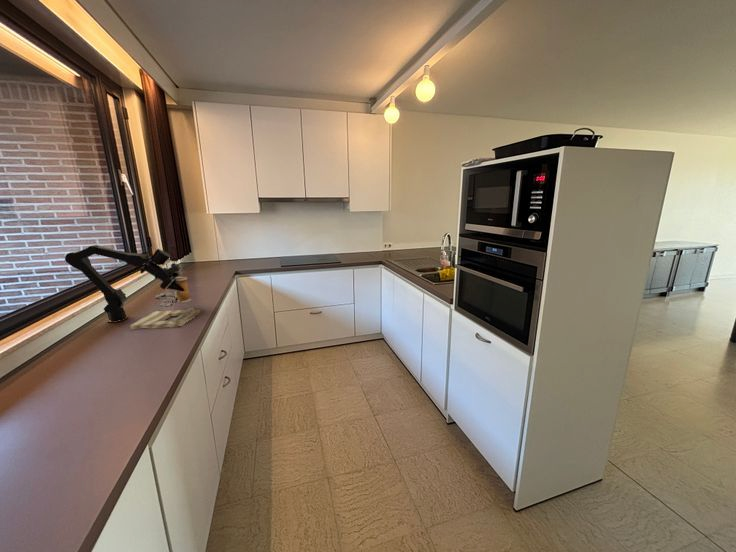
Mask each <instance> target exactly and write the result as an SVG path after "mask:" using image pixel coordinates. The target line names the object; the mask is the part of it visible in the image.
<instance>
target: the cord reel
mask: <svg viewBox="0 0 736 552" xmlns="http://www.w3.org/2000/svg"><path fill="white" fill-rule="evenodd" d="M174 279H176V283H178V284H179V285H180V286H181V287H182V288H184V289H185V290H184V291H179V290H176V291H177V296H178V300H177V303H180V304H181V303H182V304H183V303H189V302H190V301H192V297H190V296H191V295H190V290H189V286H188V285H189V283H188V277H187V276H180V277H177V278H174ZM174 279H173V280H174Z"/></svg>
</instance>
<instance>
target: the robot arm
mask: <svg viewBox="0 0 736 552" xmlns="http://www.w3.org/2000/svg"><path fill="white" fill-rule="evenodd" d="M93 255H98V256H102V257H106V258H110V259H114V260H119V261H123V262H125V263H126V264H128V265H130V266H134V267H136V268H137V267H138V268H139V267H140V268H139V270H140V274H144V273H145V272H147V273H149V275H151V276H153V277H154V279H155V280H157V279H158V280H159V281H161V283H160V285H159V286H160V288H161V289H162V290H173V291H175V290H179V291H184V290H185V289H184V288H182V287H181V286H180V285H179V284H178V283H176V279H174V278H177V277H181V275H180V273H181V272H180V270H181V267H180V264H178V263H175V262H174V263H171V264H170V267H168V268H167V267H162V266H163V265H165V264H166V263H167V261H168V260H169V259H170V258H171V255H170V253H169V252H166V251H164V250H162V249H160V248H157V249H156V250H155V251H154V253H153V254H152V255H145V254H143V253H138V252H136V253H135V252H125V251H120V250H116V249H113V248H108V247H105V246H100V245H98V244H94V245H90V246H88V247H86V248H84V249H82V250H76V251H72V252H68V253H67V254H66V255H65V257H64V260H65V262H66V264H69V265H70V266H71V267H72V268H74V269H76V270H79V271H80V272H81V273H82V274H84V276H85V277H86V278H87V279H88V280H89V281H90V282H91V283H92V284H93V285H95V286H94V287H96V288H97V289H98V290H99V291H100V292H101V293H102V295H103V296H104V299H105V301H106V303H107V304H106V306H104V308H103V311H104V312H105V313H106V314H107V317H108V321H109V320H111V321H118V320H122V321H124V320H125V318H126V317H127V314H126V310H124V307H123V306H124V305H125V303H126V301H127V296H126V295H127V294H126V293H125V292H124V291H123V290H122V288H118V289H116V288H113V287H112V285H111V284H110V283H109V282H108V281H107V280H106V279H105V278H104V277H103V276H102V275H101V274H100V273H99V272H98V271H97V270H96V268H94V266H93V265H92V263H91V260H90V258H89V257H92V256H93ZM141 266H143V267H141ZM173 279H174V280H173ZM123 319H124V320H123ZM126 319H127V318H126Z"/></svg>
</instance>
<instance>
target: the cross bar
mask: <svg viewBox="0 0 736 552" xmlns="http://www.w3.org/2000/svg"><path fill="white" fill-rule="evenodd" d="M186 310H187V311H186V312H184V313H183V314H181V315H180V316H178V317H172V319H171V320H172V323H177V322H178V321H179V320H182V319H183V318H185V317H186V315H187V314H189V313H190V312H192V311H194V310H195V309H194V307H188V308H187V309H186Z"/></svg>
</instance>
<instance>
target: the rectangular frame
mask: <svg viewBox="0 0 736 552" xmlns="http://www.w3.org/2000/svg"><path fill="white" fill-rule="evenodd" d="M187 310H188V309H185V310H183V309H182V310H163V311H162V310H161V311H160V310H159V311H152V312H151V313H150V314H147V315H146V316H143V318H140V319H139V320H137V321H135V322H133V323H132V324H130V325H129V328H130V330H141V329H140V328H149V329H160V328H159V327H170V328H175V327H174V326H182V325H183V324H185V323H186V322H187V323H189V322H190V321H191V320H193V319H195V316H196V315H197V316H198V315H200V314H201V311H200V309H194V311H192V312H190V313H189V314H187V315H186V316H184V317H183V318H182V319H180V320H179V321H178V322H177V323H172V319H170V320H167V319H168V318H167V317H169V316H180V315H181V314H183V313H184V312H186V311H187ZM199 313H200V314H199ZM197 316H196V317H197ZM166 318H167V319H166ZM169 318H170V317H169ZM192 318H193V319H192ZM164 319H166V320H164ZM163 320H164V321H163ZM189 320H190V321H189ZM188 321H189V322H188ZM187 323H186V324H187ZM186 324H185V325H186ZM172 326H173V327H172ZM183 326H184V325H183ZM183 326H182V327H183ZM137 328H138V329H137Z"/></svg>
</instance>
